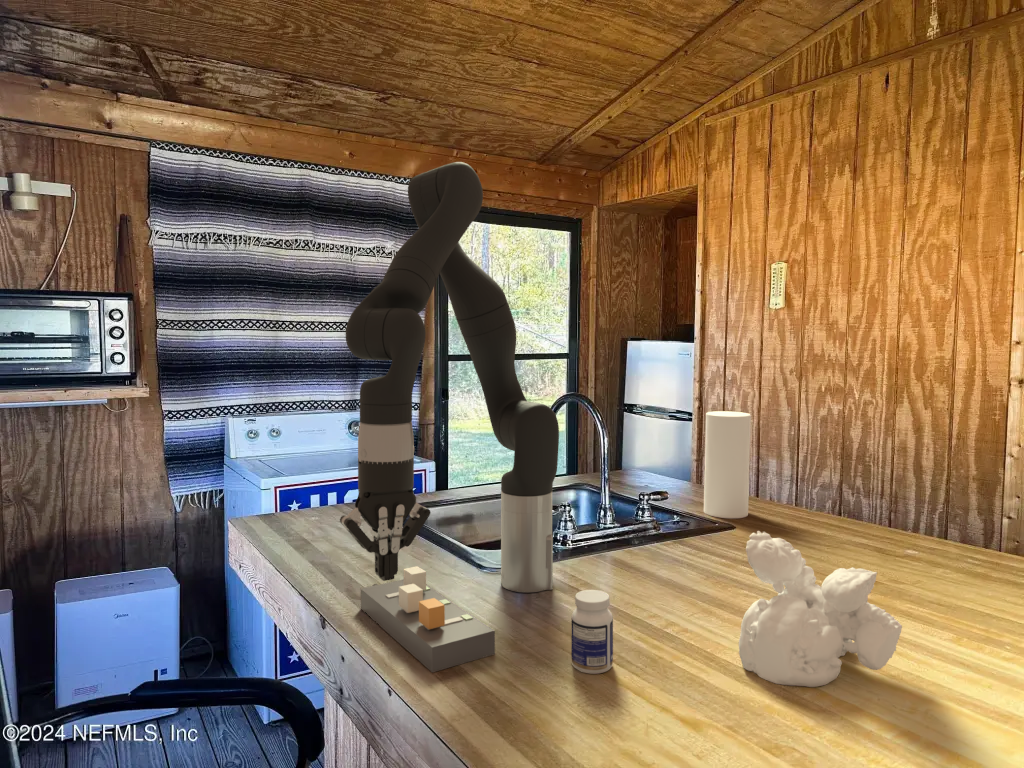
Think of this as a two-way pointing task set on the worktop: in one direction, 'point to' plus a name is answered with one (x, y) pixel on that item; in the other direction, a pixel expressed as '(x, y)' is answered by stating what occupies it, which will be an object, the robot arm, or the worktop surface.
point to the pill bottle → (592, 632)
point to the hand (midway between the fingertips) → (386, 578)
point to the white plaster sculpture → (810, 619)
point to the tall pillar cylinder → (727, 464)
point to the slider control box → (430, 646)
